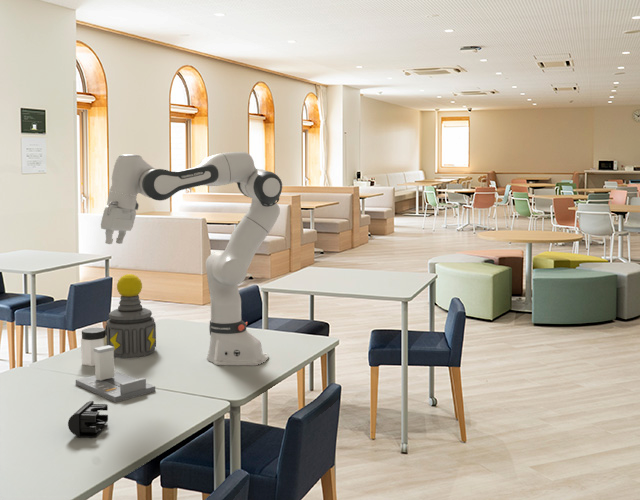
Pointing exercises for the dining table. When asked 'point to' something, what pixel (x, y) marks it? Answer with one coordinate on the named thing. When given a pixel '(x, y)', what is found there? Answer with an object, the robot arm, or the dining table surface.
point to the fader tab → (104, 362)
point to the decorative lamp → (131, 322)
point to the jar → (92, 344)
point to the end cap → (88, 420)
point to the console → (116, 386)
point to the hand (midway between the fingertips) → (113, 243)
